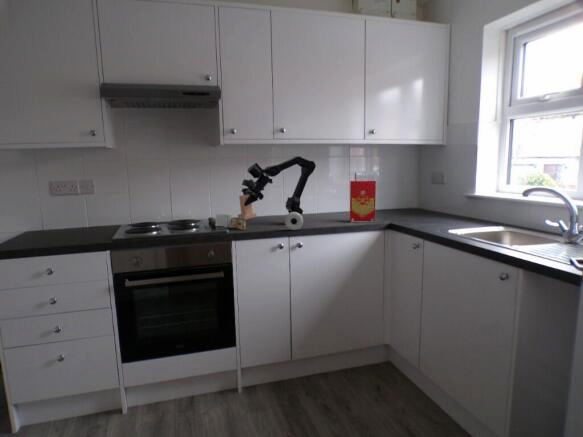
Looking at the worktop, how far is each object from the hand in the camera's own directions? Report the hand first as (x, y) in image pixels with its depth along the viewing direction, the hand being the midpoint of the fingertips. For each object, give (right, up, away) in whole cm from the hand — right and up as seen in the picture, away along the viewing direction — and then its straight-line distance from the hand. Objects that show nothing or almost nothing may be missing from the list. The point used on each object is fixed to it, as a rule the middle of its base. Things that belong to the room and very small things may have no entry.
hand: (242, 205), depth 203 cm
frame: (-12, -12, +10) cm, 19 cm away
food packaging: (+70, -10, +25) cm, 75 cm away
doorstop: (+2, -6, +3) cm, 7 cm away
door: (-3, -13, +2) cm, 13 cm away
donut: (+28, -14, -3) cm, 32 cm away
